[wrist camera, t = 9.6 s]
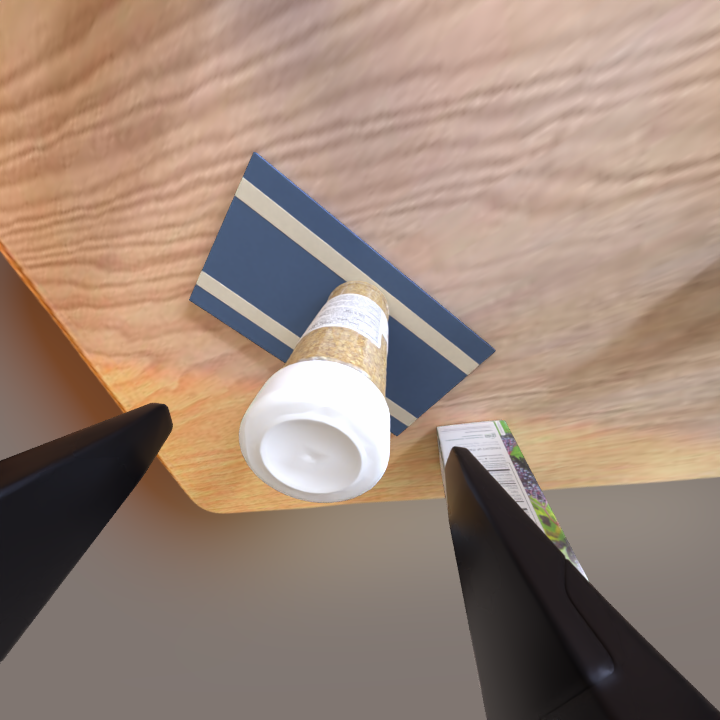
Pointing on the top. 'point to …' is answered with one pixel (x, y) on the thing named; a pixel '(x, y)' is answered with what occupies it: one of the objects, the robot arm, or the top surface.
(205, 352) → the top surface
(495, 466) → the syrup box
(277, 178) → the tea towel
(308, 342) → the sprinkles bottle
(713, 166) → the top surface
